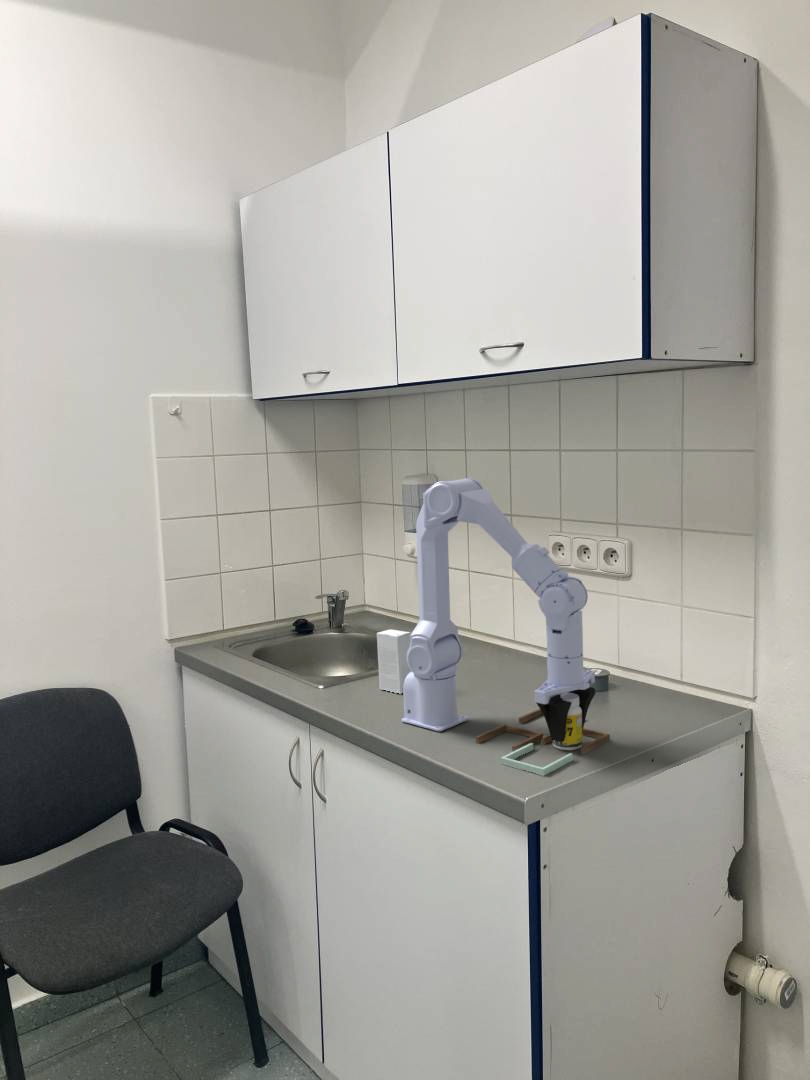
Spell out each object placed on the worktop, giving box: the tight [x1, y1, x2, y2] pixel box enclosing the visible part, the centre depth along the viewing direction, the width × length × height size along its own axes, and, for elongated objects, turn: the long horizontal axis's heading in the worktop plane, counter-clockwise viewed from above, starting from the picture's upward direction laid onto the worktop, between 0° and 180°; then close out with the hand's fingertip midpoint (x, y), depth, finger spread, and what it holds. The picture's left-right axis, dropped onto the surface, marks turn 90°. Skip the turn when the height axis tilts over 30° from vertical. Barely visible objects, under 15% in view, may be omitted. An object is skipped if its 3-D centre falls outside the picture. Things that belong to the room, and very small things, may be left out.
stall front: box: [540, 727, 611, 755], centre depth 146 cm, size 8×8×1 cm
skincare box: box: [376, 629, 412, 695], centre depth 179 cm, size 6×4×12 cm
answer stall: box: [500, 743, 574, 777], centre depth 138 cm, size 8×8×1 cm
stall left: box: [518, 707, 543, 724], centre depth 156 cm, size 8×8×1 cm
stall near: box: [475, 723, 544, 752], centre depth 147 cm, size 8×8×1 cm
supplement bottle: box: [551, 693, 583, 751], centre depth 143 cm, size 5×5×8 cm
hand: (566, 735), depth 144 cm, fingers open, 5 cm apart
